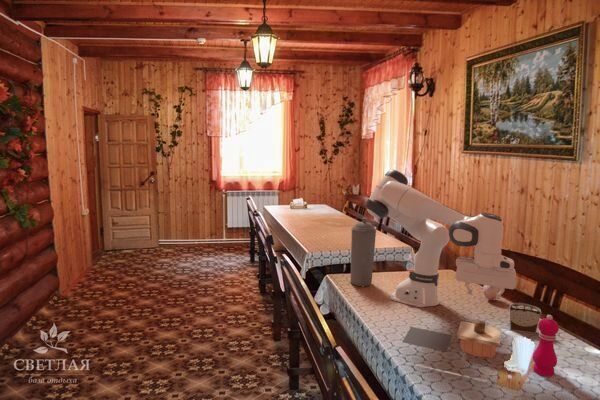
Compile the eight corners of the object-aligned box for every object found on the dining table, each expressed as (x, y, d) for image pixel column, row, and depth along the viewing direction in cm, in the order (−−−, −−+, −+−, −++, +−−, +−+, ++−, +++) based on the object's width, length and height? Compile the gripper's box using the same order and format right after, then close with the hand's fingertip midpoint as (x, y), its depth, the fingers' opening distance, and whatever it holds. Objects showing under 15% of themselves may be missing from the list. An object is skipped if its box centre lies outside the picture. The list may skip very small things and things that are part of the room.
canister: (345, 279, 244) (349, 215, 239) (368, 279, 247) (372, 215, 242) (352, 287, 232) (356, 220, 227) (376, 287, 234) (380, 220, 229)
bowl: (458, 353, 164) (460, 337, 164) (462, 340, 175) (463, 325, 174) (494, 361, 159) (496, 344, 159) (496, 347, 170) (497, 332, 169)
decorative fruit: (501, 305, 215) (503, 284, 213) (482, 302, 217) (484, 282, 216) (499, 298, 223) (501, 278, 222) (481, 296, 226) (483, 276, 225)
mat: (402, 343, 171) (402, 342, 171) (410, 327, 185) (410, 326, 185) (446, 353, 164) (446, 351, 164) (452, 336, 179) (452, 334, 179)
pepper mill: (526, 366, 156) (532, 310, 154) (546, 366, 157) (553, 310, 154) (539, 377, 149) (546, 319, 146) (560, 377, 150) (567, 319, 147)
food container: (537, 328, 189) (540, 305, 187) (539, 334, 183) (542, 310, 182) (505, 323, 193) (507, 300, 191) (506, 329, 187) (508, 305, 186)
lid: (456, 338, 163) (457, 325, 162) (460, 324, 176) (461, 312, 175) (499, 346, 157) (500, 333, 157) (500, 331, 170) (501, 319, 169)
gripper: (455, 257, 164) (452, 294, 166) (518, 265, 155) (514, 304, 157) (457, 253, 170) (454, 289, 172) (518, 261, 161) (514, 298, 163)
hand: (483, 296), depth 164 cm, fingers open, 8 cm apart
